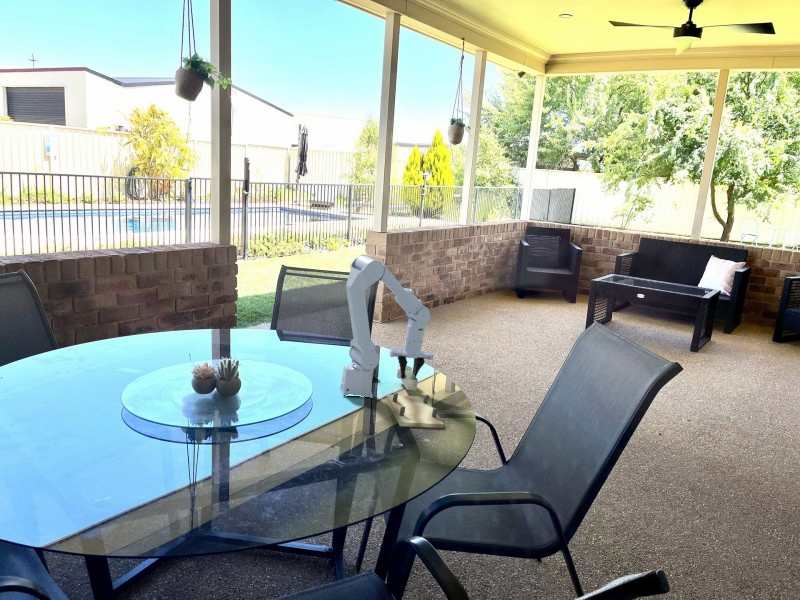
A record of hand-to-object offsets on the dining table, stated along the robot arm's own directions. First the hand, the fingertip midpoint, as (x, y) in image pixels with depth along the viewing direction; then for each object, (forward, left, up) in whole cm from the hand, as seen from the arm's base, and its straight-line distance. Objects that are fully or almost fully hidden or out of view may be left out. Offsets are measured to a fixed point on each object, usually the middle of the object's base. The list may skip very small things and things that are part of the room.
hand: (407, 378), depth 194 cm
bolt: (-12, +16, -5) cm, 20 cm away
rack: (-2, -18, -4) cm, 19 cm away
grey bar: (0, 0, -2) cm, 2 cm away
